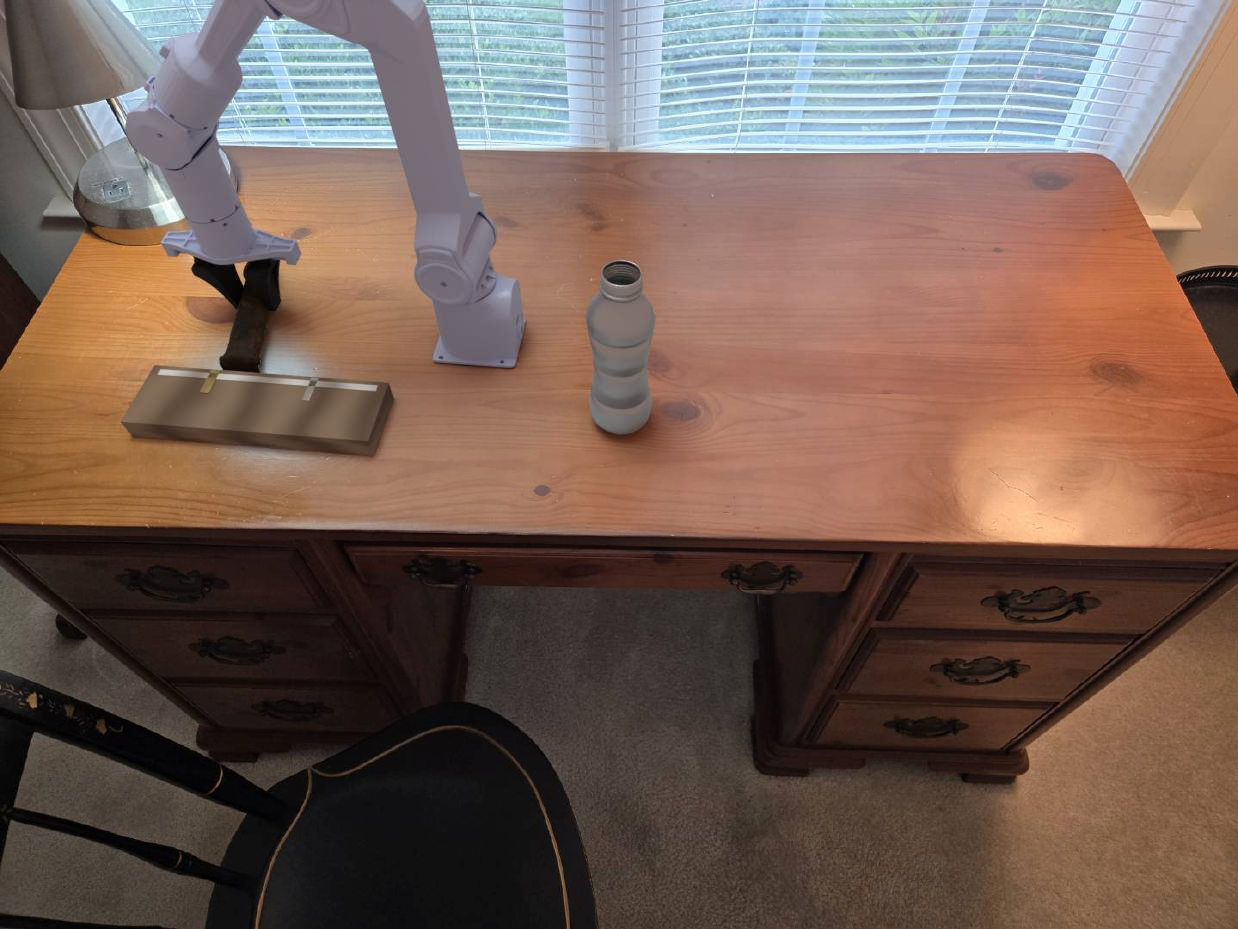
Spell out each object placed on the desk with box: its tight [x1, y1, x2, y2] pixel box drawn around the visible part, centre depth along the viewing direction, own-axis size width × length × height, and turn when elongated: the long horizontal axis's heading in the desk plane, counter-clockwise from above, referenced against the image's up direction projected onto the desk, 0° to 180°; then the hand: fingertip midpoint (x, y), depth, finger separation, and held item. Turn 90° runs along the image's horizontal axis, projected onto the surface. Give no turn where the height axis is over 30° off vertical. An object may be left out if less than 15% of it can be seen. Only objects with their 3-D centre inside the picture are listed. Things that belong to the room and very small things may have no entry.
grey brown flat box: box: [120, 364, 395, 457], centre depth 84 cm, size 26×8×3 cm, turn 85°
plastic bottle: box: [585, 259, 656, 436], centre depth 77 cm, size 6×7×20 cm
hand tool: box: [218, 261, 270, 373], centre depth 92 cm, size 19×4×5 cm, turn 3°
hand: (258, 304), depth 94 cm, fingers closed on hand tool, 3 cm apart
